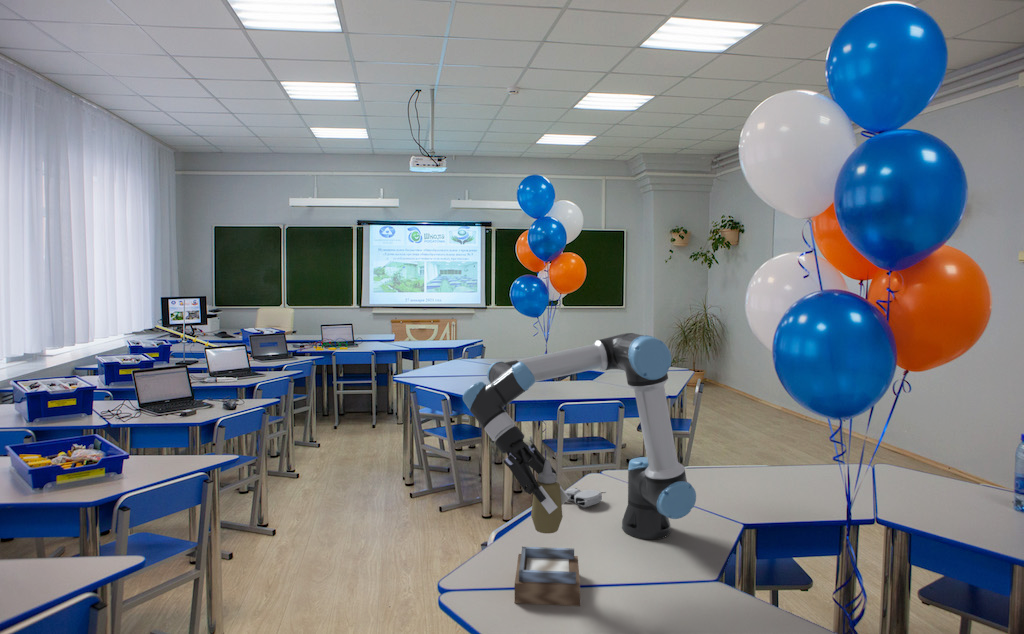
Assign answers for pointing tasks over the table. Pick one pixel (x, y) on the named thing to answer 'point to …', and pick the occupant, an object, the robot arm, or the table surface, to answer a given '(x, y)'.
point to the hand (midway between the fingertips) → (559, 505)
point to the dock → (547, 577)
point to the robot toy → (584, 496)
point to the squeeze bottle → (539, 513)
